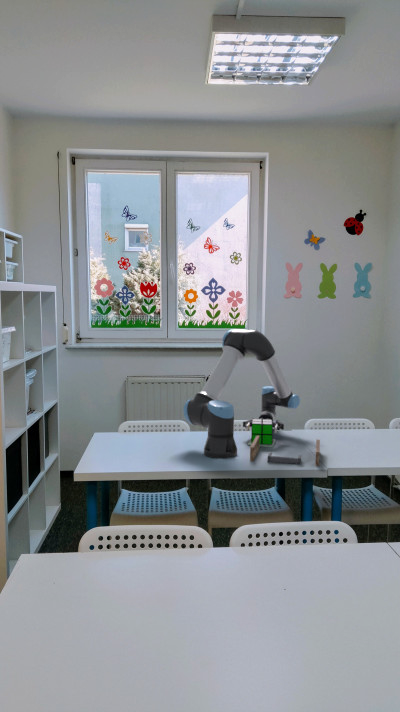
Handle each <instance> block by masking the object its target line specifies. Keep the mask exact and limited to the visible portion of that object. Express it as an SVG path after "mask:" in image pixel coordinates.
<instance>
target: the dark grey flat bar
mask: <svg viewBox="0 0 400 712" xmlns="http://www.w3.org/2000/svg"><path fill="white" fill-rule="evenodd" d="M266 461H267V463H275V464H287V465H296V466H297V465H298V466H301V465H302V455H301V454H298V457H290V456H278V455H272V452H268V455H267V460H266Z"/></svg>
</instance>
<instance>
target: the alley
mask: <svg viewBox="0 0 400 712" xmlns="http://www.w3.org/2000/svg"><path fill="white" fill-rule="evenodd" d="M259 443H260V436H258V435H256V437H255V439H254V441H253V443H252V445H251V446H249V449H250V450H249V453H250V454H249V461H250V462H254V461H255V458H256V456H257V454H258V452H259V450H260V446H259ZM320 444H321V439H318V438H317V439H316V443H315V465H314V466H315V467H319V466H320V447H321V445H320Z"/></svg>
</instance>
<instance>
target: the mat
mask: <svg viewBox="0 0 400 712" xmlns="http://www.w3.org/2000/svg"><path fill="white" fill-rule="evenodd" d="M275 442H276V439H274V438H272V445H265V444H259V447H263V448H264V447H265V448H274V445H275ZM251 445H252V443H251V438H250V439H249V441H248V443H247V446H249V447H251Z"/></svg>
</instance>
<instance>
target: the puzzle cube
mask: <svg viewBox="0 0 400 712" xmlns="http://www.w3.org/2000/svg"><path fill="white" fill-rule="evenodd" d="M251 419H252V427H251V433H250V434H251V438H250V439H251V443H253V441H254V439H255V437H256V435H258V436H260V443H259V444H265V445H272V439H274V438H273V431H274V430H273V429H274V428H273V422H272V420H264V419H263V420H262V419H259V418H254V419H253V418H251Z"/></svg>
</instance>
